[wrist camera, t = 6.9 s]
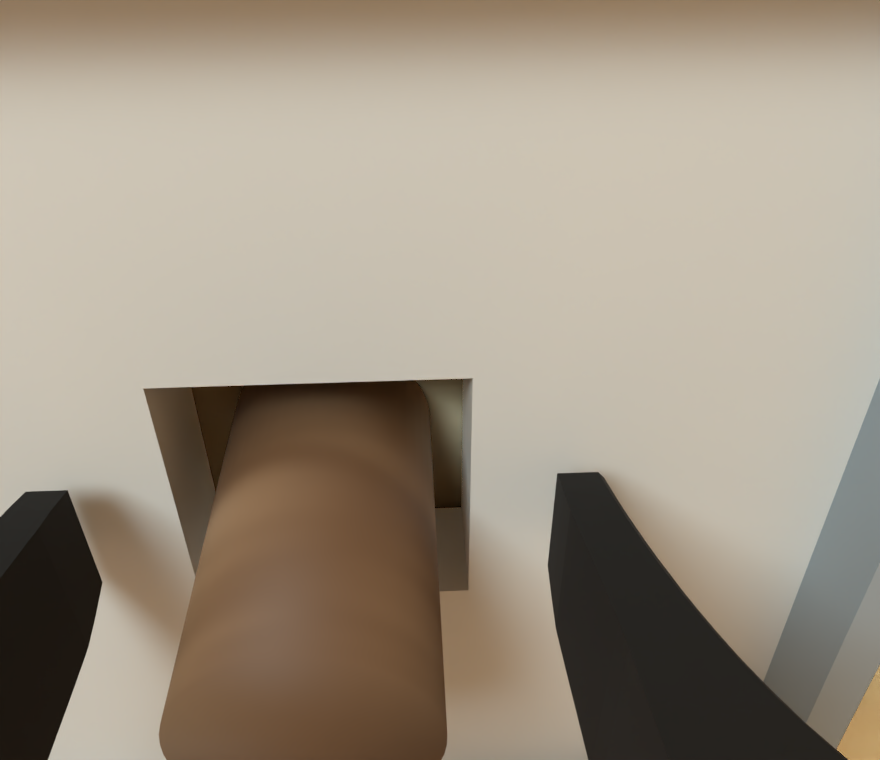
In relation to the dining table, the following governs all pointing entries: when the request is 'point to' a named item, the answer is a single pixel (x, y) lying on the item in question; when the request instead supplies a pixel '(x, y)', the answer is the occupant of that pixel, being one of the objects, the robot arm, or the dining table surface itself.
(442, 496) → the dining table surface
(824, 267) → the crate
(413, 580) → the peg
